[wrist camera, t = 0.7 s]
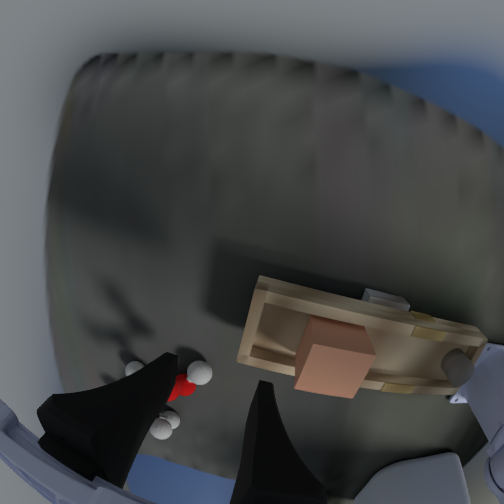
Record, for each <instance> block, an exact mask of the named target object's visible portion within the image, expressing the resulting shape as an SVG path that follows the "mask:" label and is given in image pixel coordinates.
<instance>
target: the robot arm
mask: <svg viewBox="0 0 504 504" xmlns="http://www.w3.org/2000/svg"><path fill="white" fill-rule="evenodd" d="M177 362H178V356H177V355H174V354H171V353H168V352H166V353H164V354H163V355H161V356H160V357H158V358H157V359H155V360H154V361H152V362H151V363H149V364H148V365H146V366H144V367H143V368H141V369H139V370H138V371H136V372H134V373H132V374H130V375H128V376H126V377H124V378H122V379H120V380H118V381H115V382H113V383H110V384H108V385H105V386H102V387H98V388H95V389H91V390H87V391H81V392H75V393H65V394H53V395H52V396H50V397H49V398H48V399H47V400H46V401H45V402H44V403H43V404H42V405H41V406H40V407H39V408H38V409H37V415H38V418H39V421H40V423H41V425H42V427H43V429H44V431H45V434H44V435H43V436H42V437H41V438H40V439H39V438H38V437H37V436H36V435H34V434H33V433H32V432H31V431H29V430H28V429H27V428H26V427H25V426H23V425H22V424H21V423H20V422H19V421H18V419H17V416H16V415H15V413H14V412H13V411H12V410H11V409H10V408H9V407H8V406H7V405H6V404H5V403H4V402H3V401H2V400H1V399H0V458H1V459H2V460H3V461H4V462H5V463H6V464H7V465H8V466H9V467H10V468H11V469H12V470H13V471H14V472H15V473H16V474H17V475H19V476H20V477H21V478H22V479H23V480H24V481H25V482H27V483H28V484H29V485H30V486H31V487H32V488H34V489H35V490H36V491H37V492H38V493H40V494H41V495H42V496H44V497H45V498H46V499H47V500H49V501H50V502H52V503H53V504H156V503H153V502H151V501H148V500H146V499H143V498H141V497H139V496H136V495H134V494H132V493H130V492H127V491H125V490H123V486H124V484H125V481H126V479H127V476H128V473H129V471H130V469H131V466H132V464H133V462H134V459H135V457H136V455H137V453H138V450H139V448H140V446H141V444H142V442H143V440H144V438H145V436H146V434H147V432H148V431H149V429H150V427H151V426H152V424H153V423H154V421H155V420H156V418H157V416H158V415H159V413H160V412H161V410H162V409H163V407H164V406H165V404H166V402H167V401H168V399H169V397H170V395H171V393H172V391H173V388H174V386H175V384H176V373H177ZM474 367H475V371H474V374H473V376H472V377H471V379H470V380H469V381H468V382H467V383H465V384H464V385H462V386H461V387H460V388H459V390H458V391H457V393H456V394H455V395H452V396H451V397H450V399H449V402H450V403H468V404H469V406H470V407H471V409H472V411H473V413H474V415H475V416H476V418H477V420H478V422H479V424H480V425H481V427H482V429H483V431H484V433H485V435H486V437H487V439H488V441H489V443H490V444H491V445H490V447H489V448H488V449H487V450H486V451H487V453H488V455H489V457H488V458H487V460H486V462H485V466H484V478H485V481H486V484H487V486H488V488H489V489H490V490H491V492H492V493H494V494H495V495H496V497H497V498H498V500H499V502H500V504H504V345H499V344H492V343H486V345H485V347H484V349H483V351H482V353H481V354H480V356H479V358H478V360H477V361H476V363H475V365H474ZM230 504H327V497H326V492H325V487H324V486H323V485H322V484H321V483H320V482H319V481H318V480H317V479H316V478H315V476H314V475H313V474H312V473H311V472H310V470H309V469H308V468H307V467H306V465H305V464H304V462H303V461H302V460H301V458H300V457H299V455H298V454H297V452H296V450H295V449H294V447H293V445H292V443H291V441H290V439H289V437H288V435H287V433H286V430H285V428H284V425H283V423H282V420H281V417H280V414H279V411H278V407H277V403H276V399H275V394H274V387H273V384H272V383H270V382H266V381H262V380H259V383H258V386H257V389H256V392H255V395H254V398H253V400H252V403H251V406H250V410H249V414H248V418H247V422H246V428H245V435H244V443H243V450H242V458H241V463H240V468H239V471H238V475H237V479H236V483H235V486H234V490H233V494H232V497H231V501H230Z"/></svg>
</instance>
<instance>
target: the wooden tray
mask: <svg viewBox="0 0 504 504" xmlns="http://www.w3.org/2000/svg"><path fill="white" fill-rule="evenodd" d="M409 308H410V304H409V303H408V302H407V301H406V300H405V298H404V297H400V296H396V295H392V294H388V293H384V292H380V291H376V290H372V289H368V288H366V289H365V291H364V294H363V297H362V299H361V300H357V299H353V298H349V297H344V296H340V295H336V294H332V293H328V292H324V291H320V290H316V289H312V288H308V287H304V286H300V285H296V284H292V283H288V282H284V281H281V280H277V279H273V278H269V277H265V276H261V275H259V278H258V281H257V283H256V286H255V290H254V294H253V298H252V301H251V305H250V309H249V313H248V317H247V321H246V325H245V329H244V333H243V337H242V341H241V345H240V349H239V352H238V356H237V360H236V362H239V363H243V364H246V365H250V366H254V367H258V368H262V369H266V370H270V371H275V372H279V373H283V374H288V375H292V376H295V355H296V352H297V350H298V347H299V344H300V342H301V339H302V336H303V334H304V331H305V328H306V325H307V323H308V320H309V317H310V314H313V315H317V316H321V317H326V318H330V319H334V320H339V321H343V322H348V323H352V324H357V325H361V326H365V329H366V331H367V333H368V336H369V338H370V341H371V343H372V346H373V348H374V351H375V353H376V358H375V360H374V362H373V364H372V365H371V367H370V369H369V371H368V373H367V375H366V376H365V378H364V380H363V382H362V383H361V385H360V388H368V389H376V390H381V391H385V392H395V393H407V394H411V393H419V394H438V395H455V394H456V393H457V391H458V390H459V388H460V387H461V386H462V385H464V384H465V383H467V382H468V381H469V380H470V379H471V377H472V376H473V374H474V371H475V367H474V365H475V363H476V361H477V360H478V358H479V356H480V354H481V353H482V351H483V349H484V347H485V345H486V343H487V342H488V340H489V339H488V338H487V337H486V336H485V335H484V334H483V333H482V332H481V331H480V330H479V329H478V328H477V327H476V326H472V325H467V324H462V323H457V322H453V321H448V320H444V319H439V318H435V317H432V316H431V315H428V314H424V313H419V312H415V311H411V312H408V311H409Z"/></svg>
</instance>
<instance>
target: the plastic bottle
mask: <svg viewBox="0 0 504 504" xmlns="http://www.w3.org/2000/svg"><path fill="white" fill-rule="evenodd" d="M354 504H471V503H470V498H469V494H468V490H467V485H466V481H465V478H464V474H463V470H462V466H461V463H460V459H459V457H458V455H457V454H455V453H452V452H446V453H441V454H437V455H432V456H427V457H422V458H416V459H410V460H404V461H400V462H396V463H394V464H391V465H389V466H387V467H385V468H383V469H381V470H380V471H378V472H377V473H376V474H375V475H374V476H373V477H372V478H371V479H370V481H369V482H368V483H367V484H366V485H365V487H364V488H363V489H362V490H361V491H360V492H359V494H358V495H357V496H356V497H355V499H354Z"/></svg>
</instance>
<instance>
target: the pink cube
mask: <svg viewBox="0 0 504 504" xmlns="http://www.w3.org/2000/svg"><path fill="white" fill-rule="evenodd" d="M375 358H376V353H375V351H374V348H373V346H372V343H371V341H370V338H369V336H368V333H367V331H366V329H365V326H361V325H357V324H352V323H348V322H343V321H339V320H334V319H330V318H326V317H321V316H317V315H313V314H310V317H309V320H308V323H307V325H306V328H305V331H304V334H303V336H302V339H301V342H300V344H299V347H298V350H297V352H296V355H295V380H294V389H298V390H303V391H308V392H314V393H319V394H325V395H331V396H338V397H345V398H352V399H353V397H354V395H355V394H356V392H357V390H358V389H359V387H360V385H361V383H362V382H363V380H364V378H365V376H366V375H367V373H368V371H369V369H370V367H371V365H372V364H373V362H374V360H375Z"/></svg>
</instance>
